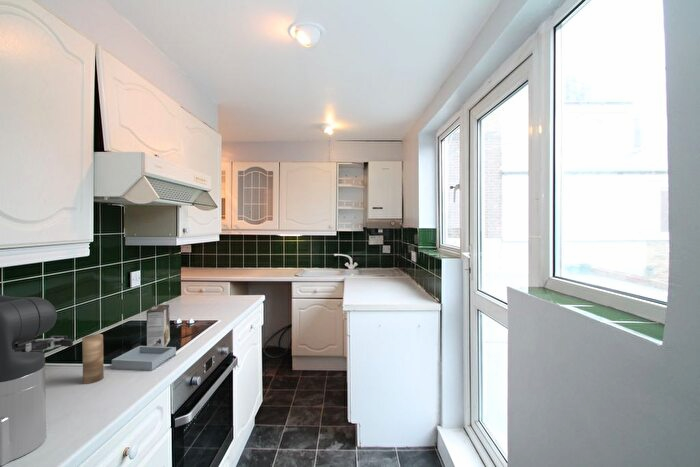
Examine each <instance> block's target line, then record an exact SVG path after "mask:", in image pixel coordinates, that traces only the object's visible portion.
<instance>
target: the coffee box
mask: <svg viewBox="0 0 700 467" xmlns="http://www.w3.org/2000/svg"><path fill="white" fill-rule="evenodd" d="M170 331H171V330H170V304H156V305H155V304H153V305H152V306H150V307H149V309H147V311H146V346H158V347H168V344H169V343H170V341H171V336H170Z"/></svg>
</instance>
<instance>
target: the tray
mask: <svg viewBox="0 0 700 467" xmlns="http://www.w3.org/2000/svg"><path fill="white" fill-rule="evenodd" d="M176 356H177V347H176V346H166V347H158V346H147V345H138V346H136V347H134V348H133V349H130V350H129V351H126V352H124V353H122V354H121V355H119V356H117V357H115V358H113V359H111V369H112V370H122V371H123V370H125V371H143V372H144V371H146V372H152V371H154V370H156V369H157V368H159V367H161V366H162V365H164V364H165V363H166V362H168V361H169V360H171V359H173V358H174V357H176Z"/></svg>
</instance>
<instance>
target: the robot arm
mask: <svg viewBox="0 0 700 467" xmlns="http://www.w3.org/2000/svg"><path fill="white" fill-rule="evenodd" d="M57 313H58V312H57V309H56V308H55V306H54V305H53V304H52V303H51V302H50V301H49V300H47V299H45V298H42V297H39V296H37V297H36V296H25V297H24V296H8V295H4V294H3V295H2V294H0V466H1V467H3V466H4V465H7V463H9V462H11V461H14V460H16V459H18V458H21V457H23V456H25V455H27V454H30V453H31V452H33V451H34V450H36V449H37V448H38V447H40V446H41V445H42V444H43V443H44V442H45V441H46V439H47V406H46V405H47V400H46V395H47V394H46V357H45V351H48V350H53V349H54V348H57V347H68V348H69V347H73V345H74V343H73V342H74V340H73V339H69V338H68V337H69V336H68V335H50V336H49V338H38V336H41V335H43V334H45V333H47V332H49V331H50V330H51V329H52V328H53V327H54V326H55V324H56V322H57V319H58V314H57ZM49 344H50V346H49Z"/></svg>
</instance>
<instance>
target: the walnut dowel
mask: <svg viewBox="0 0 700 467" xmlns="http://www.w3.org/2000/svg"><path fill="white" fill-rule="evenodd" d="M81 341H82V343H81V346H82V383H83V385H90V384H94V383H97V382H100V381H102V380H103V379H104V378H105V376H104V375H105V373H104V335H103V334H101V333H100V334H99V333H97V334H90V335H87V336H84V337H83V338H82V339H81Z"/></svg>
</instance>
